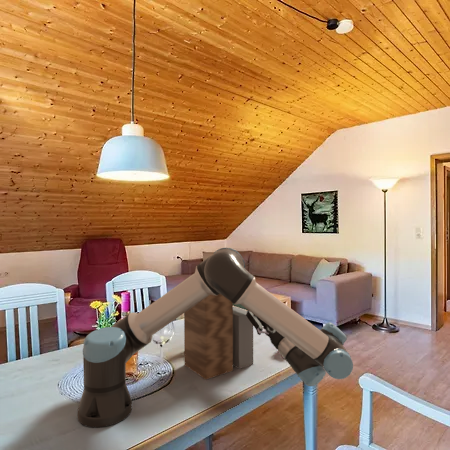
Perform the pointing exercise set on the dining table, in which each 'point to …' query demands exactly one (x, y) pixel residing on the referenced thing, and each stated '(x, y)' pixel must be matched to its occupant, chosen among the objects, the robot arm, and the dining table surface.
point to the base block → (242, 339)
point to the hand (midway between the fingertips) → (246, 296)
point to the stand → (209, 337)
